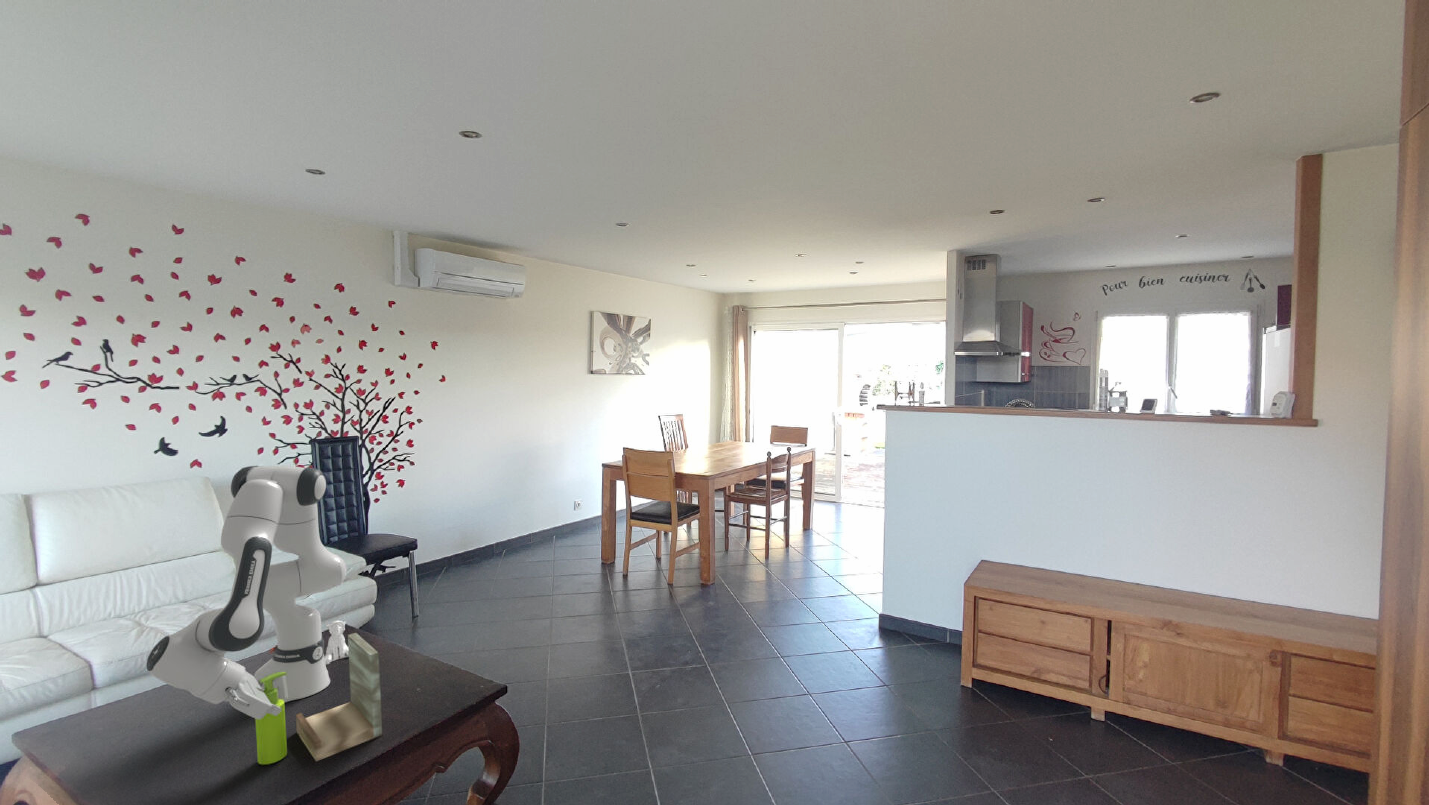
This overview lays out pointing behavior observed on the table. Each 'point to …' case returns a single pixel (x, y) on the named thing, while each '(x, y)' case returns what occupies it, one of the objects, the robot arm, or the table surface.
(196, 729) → the table surface
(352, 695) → the wall board
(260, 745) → the soap dispenser
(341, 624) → the white creature statuette
